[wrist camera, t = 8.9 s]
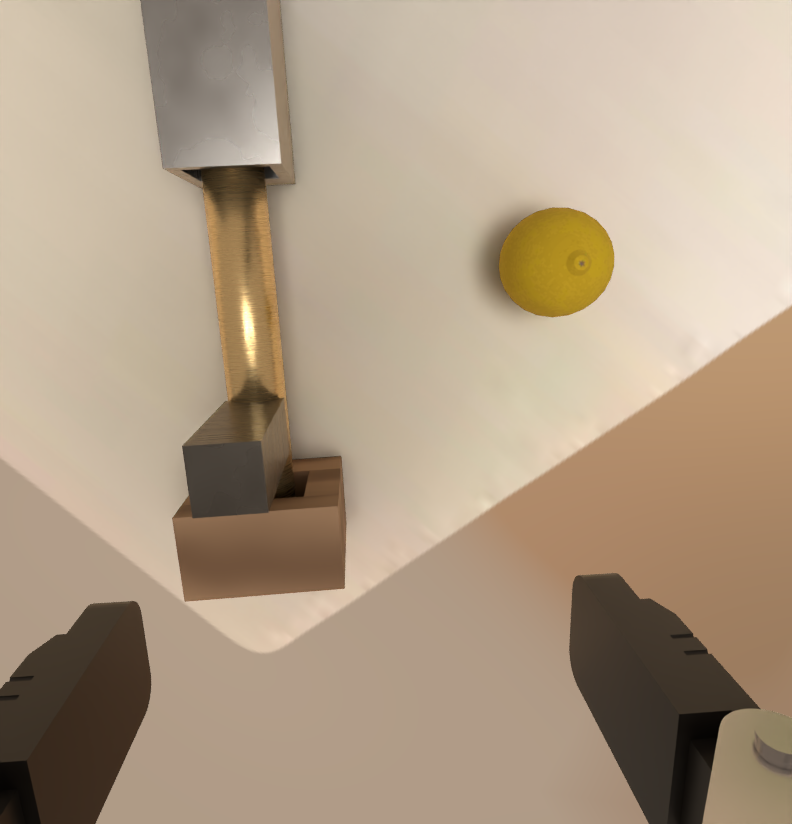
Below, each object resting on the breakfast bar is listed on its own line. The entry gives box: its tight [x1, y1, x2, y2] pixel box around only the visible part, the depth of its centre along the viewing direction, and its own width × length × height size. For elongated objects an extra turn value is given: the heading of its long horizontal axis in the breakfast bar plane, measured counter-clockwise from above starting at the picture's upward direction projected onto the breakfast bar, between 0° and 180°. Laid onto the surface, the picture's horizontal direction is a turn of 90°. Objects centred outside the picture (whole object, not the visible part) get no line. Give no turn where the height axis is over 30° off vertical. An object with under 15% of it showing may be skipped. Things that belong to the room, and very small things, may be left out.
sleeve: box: [140, 0, 295, 188], centre depth 28 cm, size 13×5×7 cm, turn 3°
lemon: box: [499, 208, 614, 317], centre depth 31 cm, size 6×6×8 cm
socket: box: [172, 456, 346, 601], centre depth 34 cm, size 4×8×8 cm, turn 93°
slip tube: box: [182, 166, 296, 518], centre depth 27 cm, size 22×3×10 cm, turn 3°
